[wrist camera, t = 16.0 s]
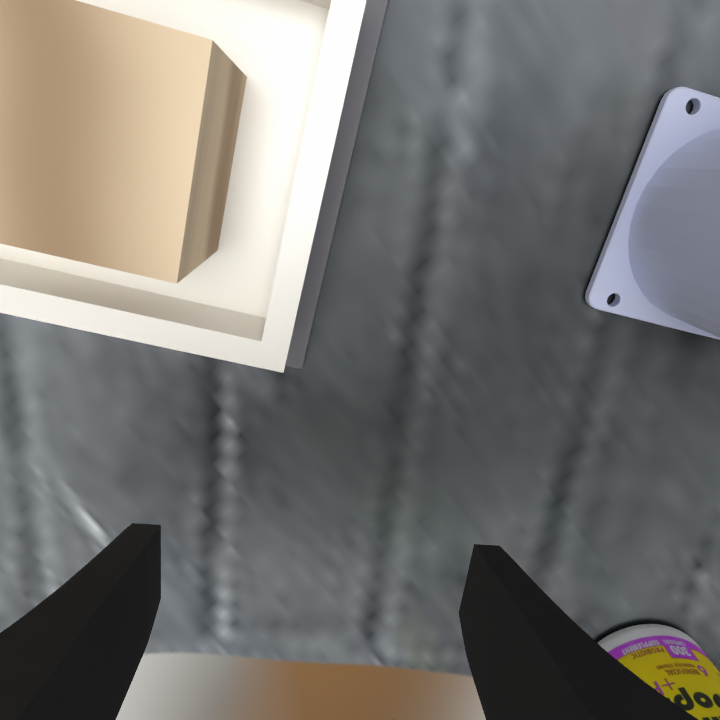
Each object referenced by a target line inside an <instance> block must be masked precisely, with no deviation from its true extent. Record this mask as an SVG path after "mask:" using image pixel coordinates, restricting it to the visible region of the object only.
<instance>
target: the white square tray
mask: <svg viewBox="0 0 720 720" xmlns="http://www.w3.org/2000/svg"><path fill="white" fill-rule="evenodd" d="M76 1H80V2H83V3H87V4H90V5H94V6H97V7H101V8H104V9H108V10H111V11H114V12H118V13H121V14H125V15H128V16H132V17H135V18H139V19H142V20H145V21H149V22H152V23H156V24H159V25H163V26H166V27H170V28H173V29H177V30H180V31H183V32H187V33H190V34H194V35H197V36H201V37H204V38H208V39H211V40H213V41H214V42H215V43H216V44H217V45H218V46H219V47H220V48H221V50H222V51H223V52H224V53H225V54H226V55H227V56H228V57H229V58H230V59H231V60H232V61H233V62H234V64H235V65H236V66H237V67H238V68H239V69H240V70H241V71H242V72H243V73H244V74H245V75H246V76H247V79H246V85H245V91H244V96H243V102H242V108H241V114H240V120H239V126H238V132H237V138H236V144H235V150H234V156H233V162H232V168H231V174H230V180H229V186H228V192H227V198H226V204H225V210H224V216H223V222H222V228H221V234H220V240H219V246H218V251H216V252H215V253H214V254H213V255H211V256H210V257H209V258H208V259H207V260H205V261H204V262H203V263H202V264H200V265H199V266H198V267H197V268H196V269H194V270H193V271H192V272H191V273H189V274H188V275H187V276H186V277H184V278H183V279H182V280H181V281H180V282H178V283H177V284H176V283H171V282H167V281H163V280H158V279H154V278H149V277H145V276H141V275H136V274H132V273H127V272H123V271H119V270H114V269H110V268H106V267H101V266H97V265H92V264H88V263H84V262H79V261H75V260H70V259H66V258H62V257H57V256H53V255H49V254H44V253H40V252H35V251H31V250H27V249H22V248H18V247H13V246H9V245H5V244H0V313H5V314H9V315H14V316H19V317H23V318H28V319H33V320H37V321H42V322H47V323H52V324H56V325H61V326H66V327H70V328H75V329H80V330H84V331H89V332H94V333H99V334H103V335H108V336H113V337H117V338H122V339H127V340H131V341H136V342H141V343H146V344H150V345H155V346H160V347H164V348H169V349H174V350H178V351H183V352H188V353H193V354H197V355H202V356H207V357H211V358H216V359H221V360H225V361H230V362H235V363H240V364H244V365H249V366H254V367H258V368H263V369H268V370H272V371H277V372H282V373H284V368H285V364H286V359H287V355H288V350H289V346H290V341H291V337H292V332H293V328H294V323H295V319H296V314H297V310H298V305H299V301H300V296H301V292H302V287H303V283H304V279H305V274H306V270H307V265H308V261H309V256H310V252H311V247H312V243H313V238H314V234H315V229H316V225H317V220H318V216H319V211H320V207H321V202H322V198H323V193H324V189H325V184H326V180H327V175H328V171H329V166H330V162H331V157H332V153H333V148H334V144H335V139H336V135H337V130H338V126H339V121H340V117H341V112H342V108H343V103H344V99H345V94H346V90H347V85H348V81H349V76H350V72H351V67H352V63H353V58H354V54H355V49H356V45H357V40H358V36H359V32H360V27H361V23H362V18H363V14H364V9H365V5H366V0H76Z"/></svg>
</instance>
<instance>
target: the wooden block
mask: <svg viewBox="0 0 720 720" xmlns="http://www.w3.org/2000/svg"><path fill="white" fill-rule="evenodd" d="M246 79H247V76H246V75H245V74H244V73H243V72H242V71H241V70H240V69H239V68H238V67H237V66H236V65H235V64H234V62H233V61H232V60H231V59H230V58H229V57H228V56H227V55H226V54H225V53H224V52H223V51H222V50H221V48H220V47H219V46H218V45H217V44H216V43H215V42H214V41H213V40H211V39H208V38H204V37H201V36H197V35H194V34H190V33H187V32H183V31H180V30H177V29H173V28H170V27H166V26H163V25H159V24H156V23H152V22H149V21H145V20H142V19H139V18H135V17H132V16H128V15H125V14H121V13H118V12H114V11H111V10H108V9H104V8H101V7H97V6H94V5H90V4H87V3H83V2H80V1H76V0H0V244H5V245H9V246H13V247H18V248H22V249H27V250H31V251H35V252H40V253H44V254H49V255H53V256H57V257H62V258H66V259H70V260H75V261H79V262H84V263H88V264H92V265H97V266H101V267H106V268H110V269H114V270H119V271H123V272H127V273H132V274H136V275H141V276H145V277H149V278H154V279H158V280H163V281H167V282H171V283H176V284H177V283H178V282H180V281H181V280H182V279H183V278H184V277H186V276H187V275H188V274H189V273H191V272H192V271H193V270H194V269H196V268H197V267H198V266H199V265H200V264H202V263H203V262H204V261H205V260H207V259H208V258H209V257H210V256H211V255H213V254H214V253H215V252H216V251H218V246H219V240H220V234H221V228H222V222H223V216H224V210H225V204H226V198H227V192H228V186H229V180H230V174H231V168H232V162H233V156H234V150H235V144H236V138H237V132H238V126H239V120H240V114H241V108H242V102H243V96H244V91H245V85H246Z"/></svg>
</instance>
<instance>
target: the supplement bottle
mask: <svg viewBox="0 0 720 720" xmlns="http://www.w3.org/2000/svg"><path fill="white" fill-rule="evenodd" d="M598 644H599V645H600V646H601V647H602V648H603V649H605V650H606V651H607V652H608V653H609V654H610V655H612V656H613V657H614V658H615V659H616V660H618V661H619V662H620V663H621V664H623V665H624V666H625V667H627V668H628V669H629V670H630V671H632V672H633V673H634V674H635V675H637V676H638V677H639V678H640V679H642V680H643V681H644V682H646V683H647V684H648V685H650V686H651V687H652V688H654V689H655V690H656V691H658V692H659V693H661V694H662V695H663V696H665V697H666V698H668V699H669V700H671V701H672V702H673V703H675V704H676V705H678V706H679V707H681V708H682V709H683V710H685V711H686V712H688V713H689V714H691V715H692V716H694V717H695V718H697V719H698V720H720V672H719V671H718V670H717V668H716V667H715V666H714V664H713V663H712V662H711V661H710V659H709V658H708V657H707V655H706V654H705V653H704V652H703V650H702V649H701V648H700V647H699V646H698V644H697V643H696V642H695V641H694V640H693V639H692V638H690V637H689V636H688V635H687V634H685V633H683V632H682V631H680V630H678V629H675V628H673V627H669V626H666V625H660V624H641V625H635V626H631V627H627V628H624V629H621V630H618V631H616V632H614V633H612V634H610V635H608V636H606V637H605V638H603V639H602V640H600V641H599V642H598Z"/></svg>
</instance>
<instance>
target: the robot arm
mask: <svg viewBox="0 0 720 720" xmlns="http://www.w3.org/2000/svg"><path fill="white" fill-rule="evenodd" d="M689 100H691V101H692V102H693V105H694V106H693V110H692V112H691V113H690V114H688V113H687V112H686V109H685V108H686V104H687V102H688V101H689ZM613 293H614V294H615V300H614V301H613V302H612V303H611V304H607V298H608V297H609V295H611V294H613ZM585 300H586V302H587V304H588V305H589V306H591V307H593V308H595V309H598V310H602V311H606V312H610V313H614V314H618V315H622V316H626V317H630V318H634V319H638V320H642V321H646V322H650V323H654V324H658V325H662V326H666V327H670V328H674V329H678V330H682V331H686V332H690V333H694V334H698V335H703V336H707V337H711V338H715V339H719V340H720V98H719V97H716V96H712V95H709V94H706V93H703V92H700V91H697V90H693V89H690V88H687V87H676V88H673V89H670V90H669V91H667V92H666V93H665V94H664V96H663V98H662V99H661V102H660V104H659V107H658V109H657V112H656V114H655V117H654V119H653V122H652V125H651V127H650V130H649V132H648V135H647V137H646V140H645V142H644V145H643V148H642V150H641V153H640V155H639V158H638V160H637V163H636V165H635V168H634V170H633V173H632V176H631V178H630V181H629V183H628V186H627V188H626V191H625V193H624V196H623V199H622V201H621V204H620V206H619V209H618V211H617V214H616V216H615V219H614V222H613V224H612V227H611V229H610V232H609V234H608V237H607V239H606V242H605V244H604V247H603V250H602V252H601V255H600V257H599V260H598V262H597V265H596V267H595V270H594V273H593V275H592V278H591V280H590V283H589V285H588V288H587V290H586V294H585ZM160 599H161V525H151V524H134V523H132V524H131V525H130V526H129V527H127V528H126V529H125V530H124V531H123V532H122V533H121V534H120V535H119V536H117V537H116V538H115V539H114V540H113V541H112V542H111V543H110V544H109V545H108V546H107V547H105V548H104V549H103V550H102V551H101V552H100V553H99V554H98V555H97V556H96V557H94V558H93V559H92V560H91V561H90V562H89V563H88V564H87V565H85V566H84V567H83V568H82V569H81V570H80V571H79V572H77V573H76V574H75V575H74V576H73V577H72V578H70V579H69V580H68V581H67V582H66V583H65V584H63V585H62V586H61V587H60V588H59V589H57V590H56V591H55V592H54V593H52V594H51V595H50V596H49V597H47V598H46V599H45V600H44V601H42V602H41V603H40V604H38V605H37V606H36V607H35V608H33V609H32V610H31V611H30V612H28V613H27V614H26V615H24V616H23V617H22V618H20V619H19V620H18V621H16V622H15V623H14V624H12V625H11V626H10V627H8V628H7V629H5V630H4V631H3V632H1V633H0V720H116V717H117V715H118V712H119V710H120V708H121V705H122V703H123V701H124V698H125V696H126V694H127V691H128V689H129V687H130V684H131V682H132V679H133V677H134V675H135V672H136V670H137V667H138V665H139V663H140V660H141V658H142V656H143V653H144V651H145V648H146V646H147V643H148V640H149V637H150V634H151V630H152V627H153V624H154V620H155V617H156V613H157V610H158V606H159V603H160ZM459 617H460V623H461V628H462V634H463V640H464V645H465V650H466V655H467V659H468V662H469V666H470V669H471V672H472V676H473V679H474V682H475V685H476V689H477V692H478V695H479V698H480V701H481V704H482V708H483V711H484V714H485V717H486V720H698V719H697V718H695V717H694V716H692V715H691V714H689V713H688V712H686V711H685V710H683V709H682V708H681V707H679V706H678V705H676V704H675V703H673V702H672V701H671V700H669V699H668V698H666V697H665V696H663V695H662V694H661V693H659V692H658V691H656V690H655V689H654V688H652V687H651V686H650V685H648V684H647V683H646V682H644V681H643V680H642V679H640V678H639V677H638V676H637V675H635V674H634V673H633V672H632V671H630V670H629V669H628V668H627V667H625V666H624V665H623V664H621V663H620V662H619V661H618V660H616V659H615V658H614V657H613V656H612V655H610V654H609V653H608V652H607V651H606V650H605V649H603V648H602V647H601V646H600V645H599V644H598V643H597V642H595V641H594V640H593V639H592V638H591V637H590V636H589V635H588V634H587V633H586V632H584V631H583V630H582V629H581V628H580V627H579V626H578V625H577V624H576V623H575V622H574V621H573V620H572V619H570V618H569V617H568V616H567V615H566V614H565V613H564V612H563V611H562V610H561V609H560V608H559V607H558V606H557V605H556V604H555V603H554V602H553V601H552V600H551V599H550V598H549V597H548V596H547V595H546V594H545V593H544V592H543V591H542V590H541V589H540V588H539V587H538V585H537V584H536V583H535V582H534V581H533V580H532V579H531V578H530V577H529V576H528V575H527V574H526V573H525V572H524V571H523V570H522V569H521V568H520V567H519V565H518V564H517V563H516V562H515V561H514V560H513V559H512V558H511V557H510V556H509V555H508V554H507V553H506V552H505V551H504V550H503V549H502V548H501V547H500V546H494V545H477V544H474V548H473V552H472V557H471V561H470V566H469V570H468V574H467V579H466V583H465V588H464V592H463V597H462V601H461V606H460V610H459Z"/></svg>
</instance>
